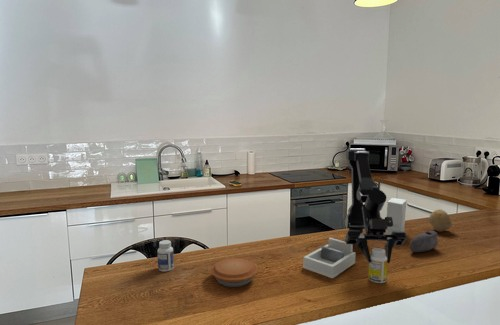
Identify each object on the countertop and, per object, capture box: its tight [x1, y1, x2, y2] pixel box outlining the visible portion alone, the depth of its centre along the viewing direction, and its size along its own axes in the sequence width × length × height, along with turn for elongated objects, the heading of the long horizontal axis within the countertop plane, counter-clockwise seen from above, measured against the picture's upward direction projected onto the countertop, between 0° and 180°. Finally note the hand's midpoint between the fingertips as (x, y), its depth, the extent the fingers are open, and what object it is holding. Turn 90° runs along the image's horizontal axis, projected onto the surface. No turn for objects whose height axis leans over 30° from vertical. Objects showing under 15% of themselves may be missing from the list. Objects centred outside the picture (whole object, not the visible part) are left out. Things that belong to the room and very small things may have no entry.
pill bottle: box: [157, 239, 175, 273], centre depth 123 cm, size 5×5×10 cm
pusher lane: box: [302, 237, 356, 279], centre depth 125 cm, size 16×12×7 cm
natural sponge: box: [428, 209, 453, 232], centre depth 160 cm, size 9×9×10 cm
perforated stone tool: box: [409, 230, 439, 253], centre depth 138 cm, size 15×5×7 cm, turn 116°
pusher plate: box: [320, 245, 344, 262], centre depth 126 cm, size 1×8×4 cm, turn 47°
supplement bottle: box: [367, 247, 388, 284], centre depth 114 cm, size 6×6×10 cm
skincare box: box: [384, 197, 407, 235], centre depth 156 cm, size 8×7×16 cm
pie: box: [210, 257, 259, 288], centre depth 115 cm, size 16×16×5 cm
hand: (379, 262), depth 112 cm, fingers closed on supplement bottle, 5 cm apart
